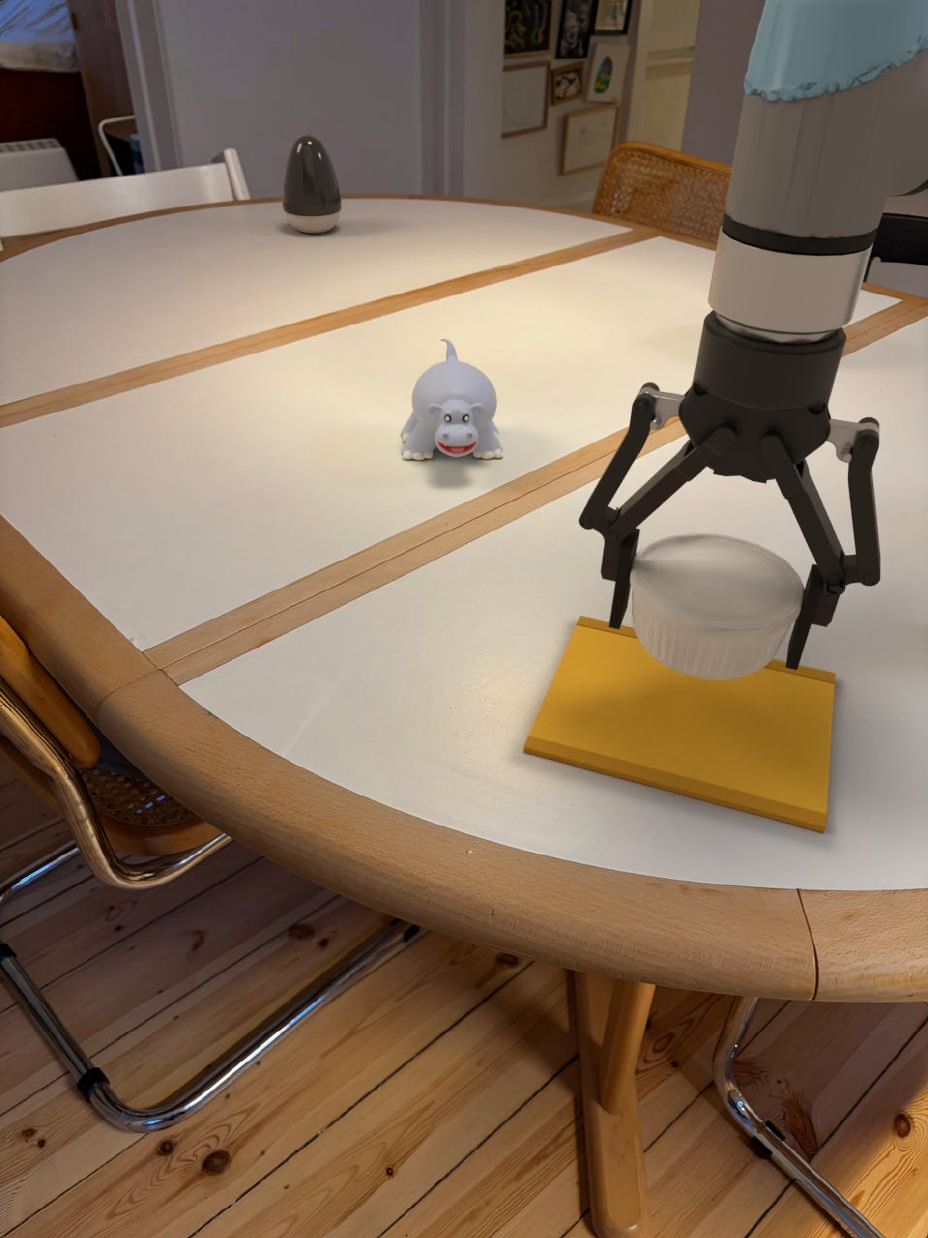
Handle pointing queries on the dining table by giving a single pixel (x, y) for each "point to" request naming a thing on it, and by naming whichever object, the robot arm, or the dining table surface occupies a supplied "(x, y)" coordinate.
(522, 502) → the dining table surface
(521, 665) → the dining table surface
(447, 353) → the hippopotamus toy
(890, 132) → the robot arm
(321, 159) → the black egg shape
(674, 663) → the ramekin
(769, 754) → the tray
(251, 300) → the dining table surface
